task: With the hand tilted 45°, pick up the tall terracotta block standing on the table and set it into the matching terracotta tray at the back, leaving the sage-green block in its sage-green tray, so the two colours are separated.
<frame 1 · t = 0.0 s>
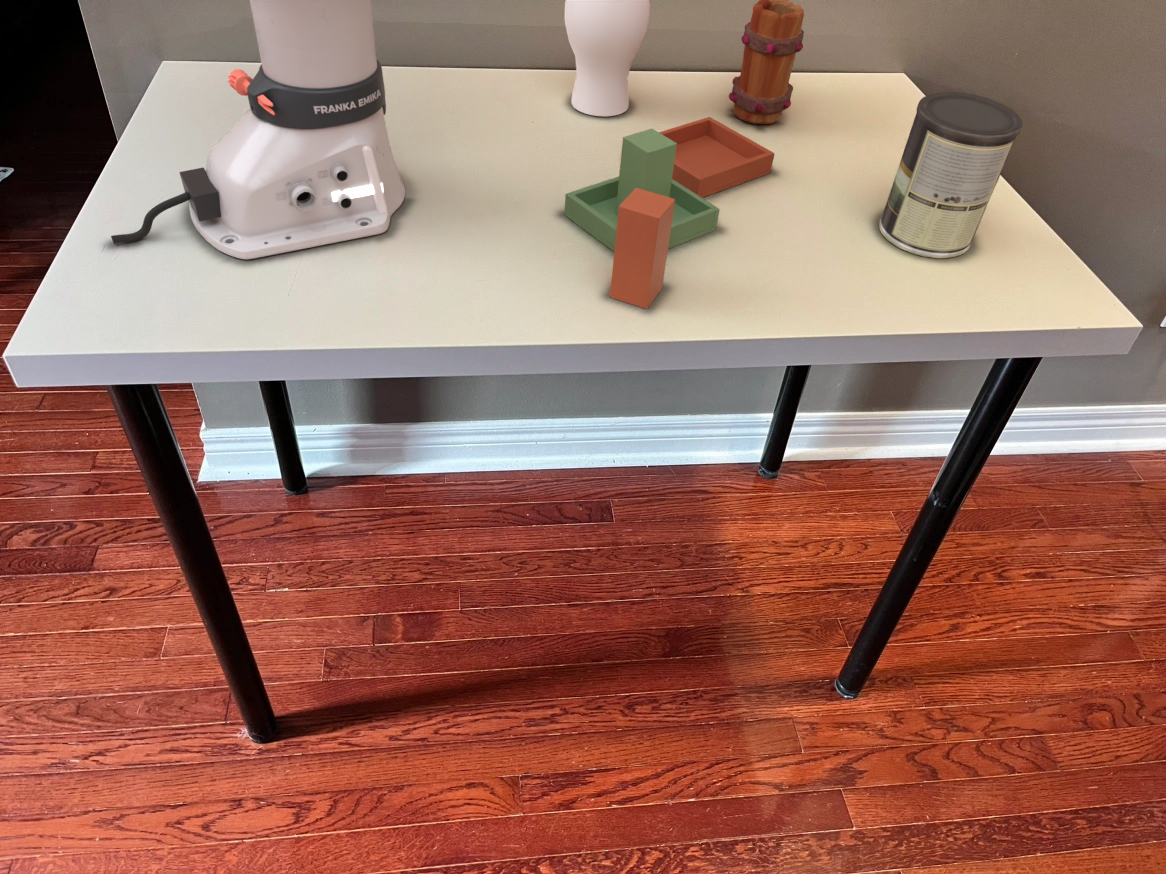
white vase: (599, 105, 118), on the table
green block: (640, 217, 97), point 1 cm above the table, touching green tray
green tray: (639, 222, 97), on the table
terracotta tray: (701, 166, 107), on the table
terracotta block: (636, 292, 87), on the table
coffee can: (923, 235, 99), on the table
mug: (757, 110, 120), on the table
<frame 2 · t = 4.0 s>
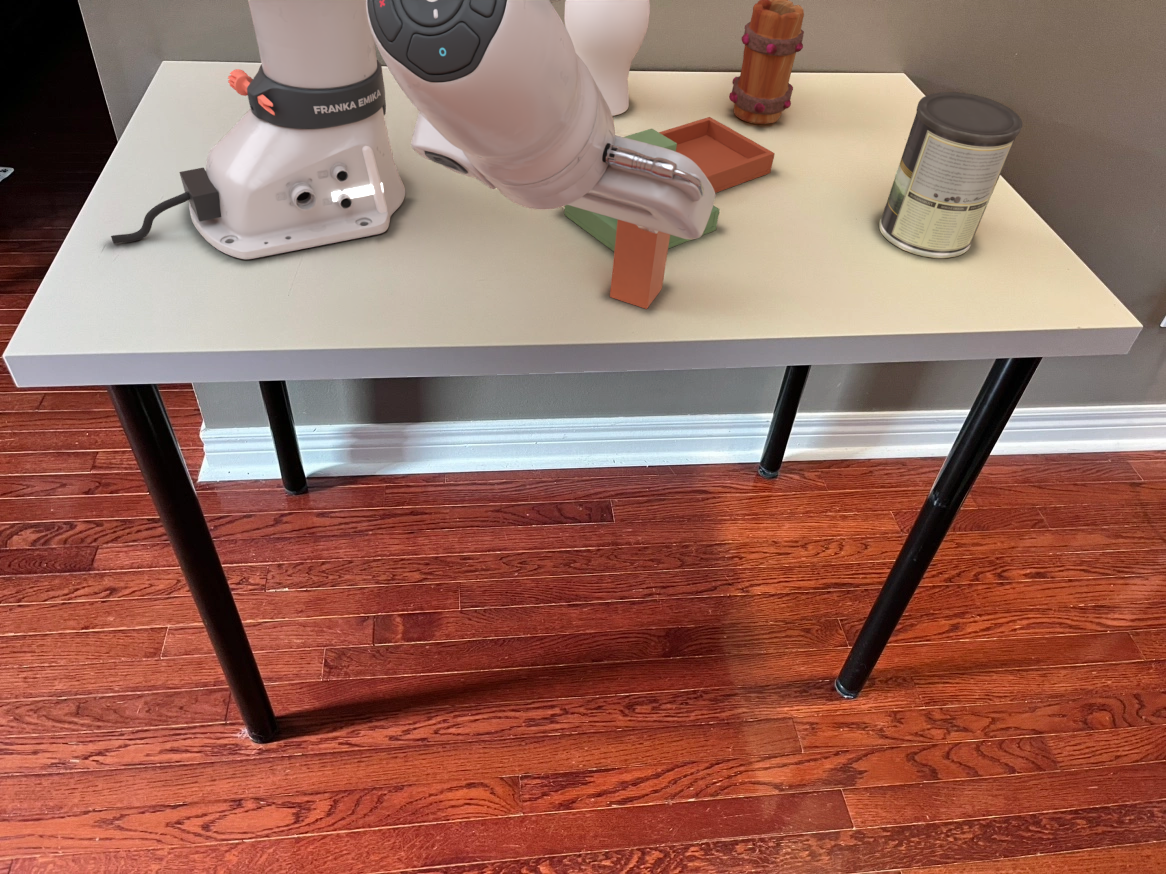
hand: (596, 205, 68), 16 cm above the table, tool tilted 45°, fingers open, 8 cm apart
nothing on the table moved.
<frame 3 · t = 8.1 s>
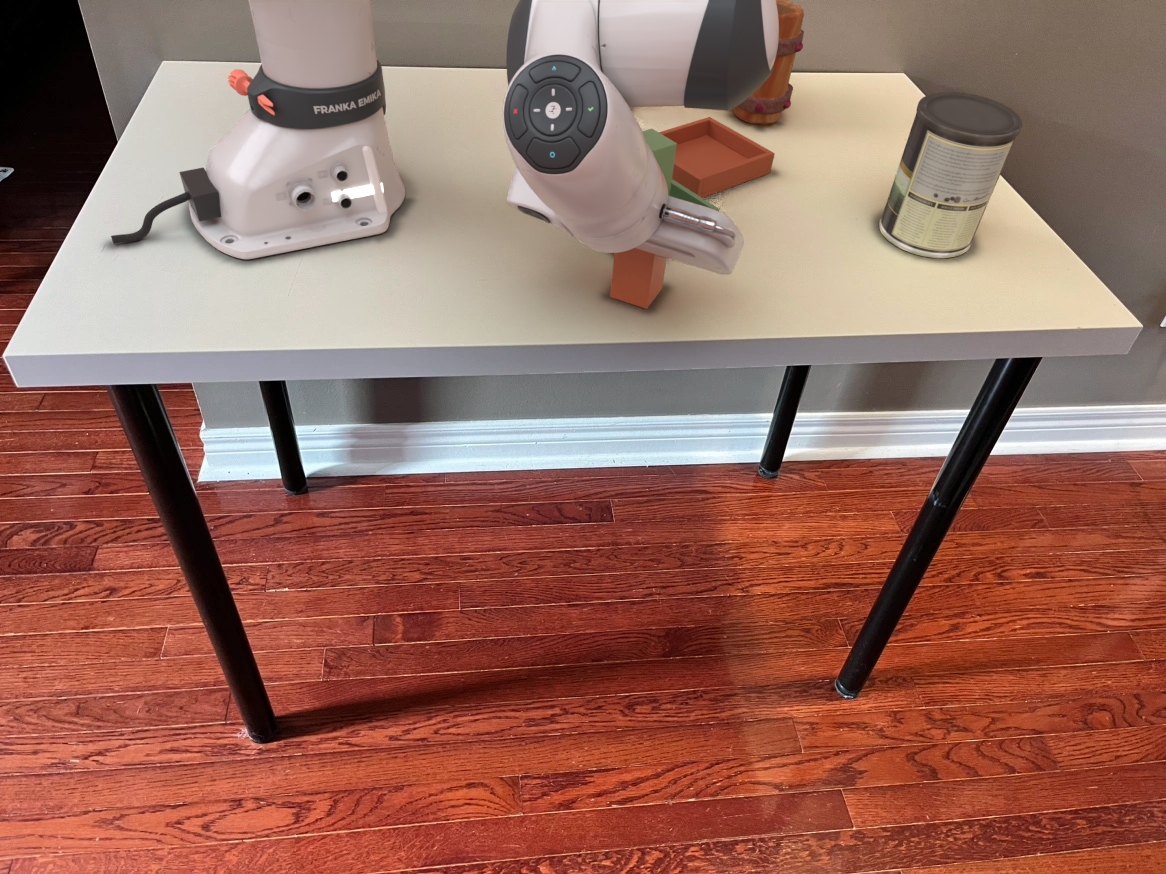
hand: (644, 242, 84), 5 cm above the table, tool tilted 45°, fingers closed on terracotta block, 4 cm apart
terracotta block: (636, 292, 87), on the table, touching gripper
everything else where it was.
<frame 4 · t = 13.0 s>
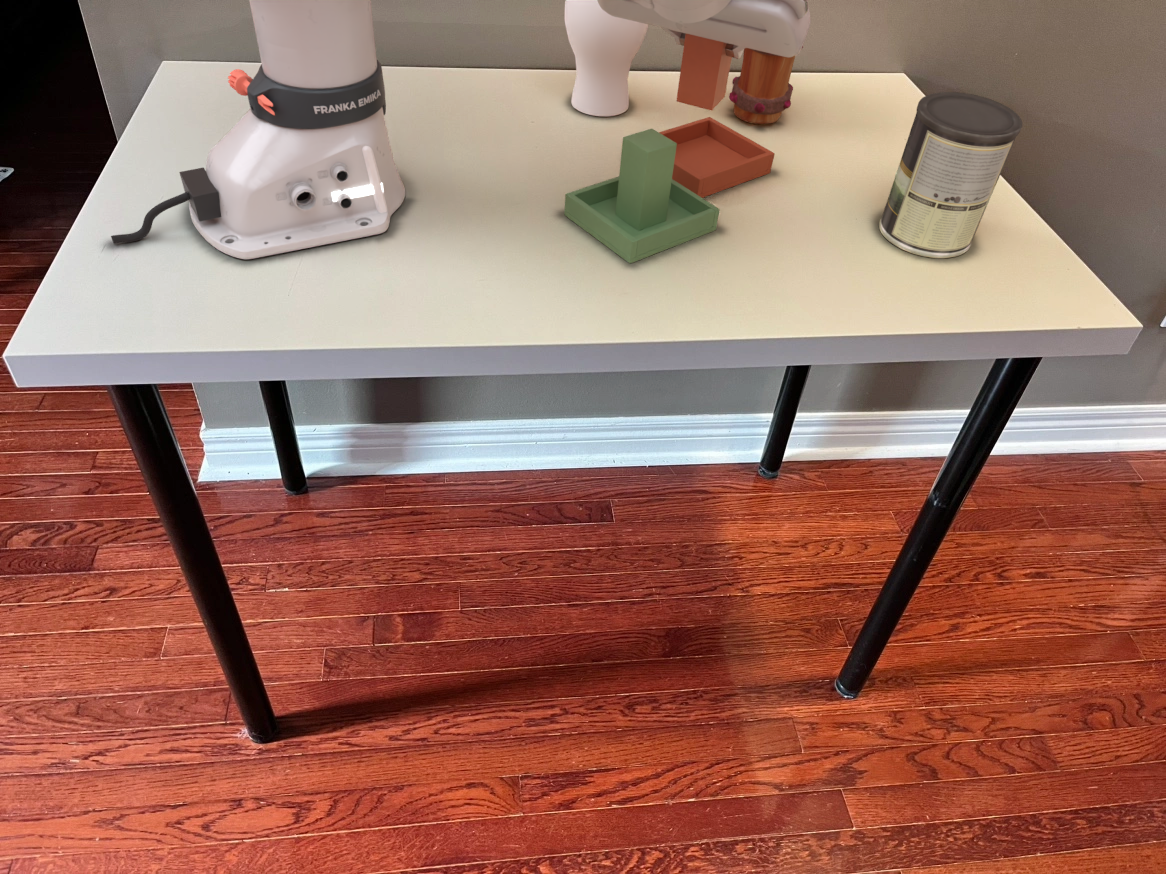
hand: (710, 44, 89), 17 cm above the table, tool tilted 45°, fingers closed on terracotta block, 4 cm apart
terracotta block: (700, 99, 92), point 12 cm above the table, touching gripper
everything else where it was.
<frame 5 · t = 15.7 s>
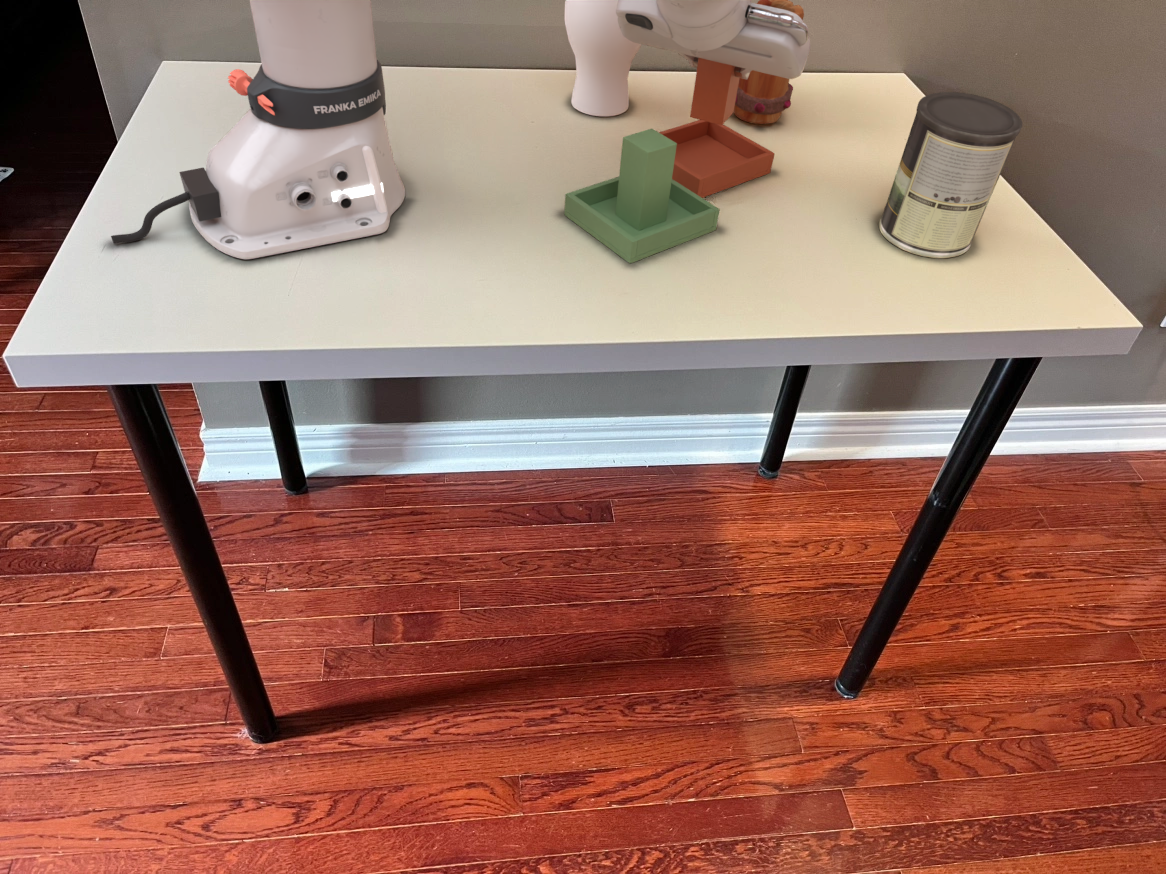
hand: (720, 66, 99), 12 cm above the table, tool tilted 45°, fingers closed on terracotta block, 4 cm apart
terracotta block: (711, 115, 103), point 6 cm above the table, touching gripper
everything else where it was.
when the fingers open (6 cm above the table, at t = 17.7 s): terracotta block stays where it is, resting on terracotta tray.
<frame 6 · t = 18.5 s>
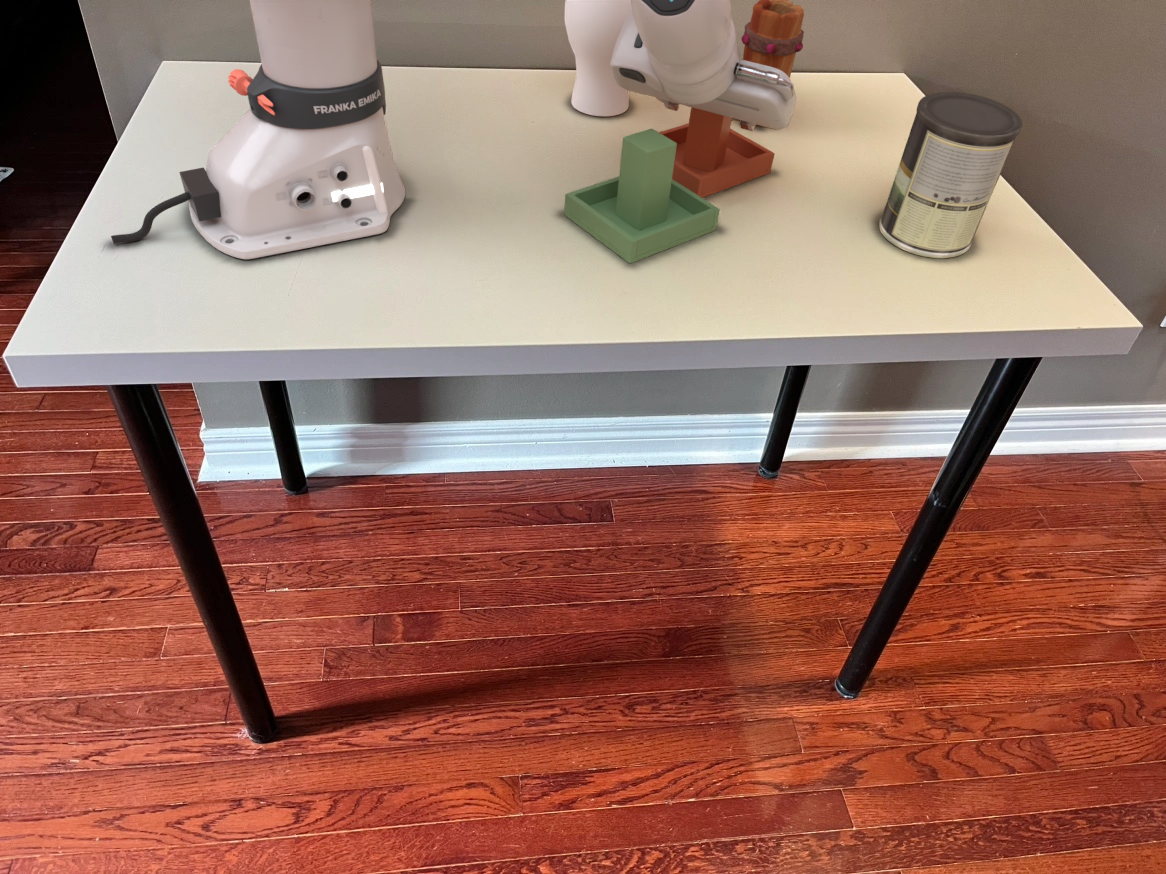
hand: (711, 113, 103), 6 cm above the table, tool tilted 45°, fingers open, 8 cm apart
terracotta block: (703, 161, 107), point 1 cm above the table, touching terracotta tray
everything else where it was.
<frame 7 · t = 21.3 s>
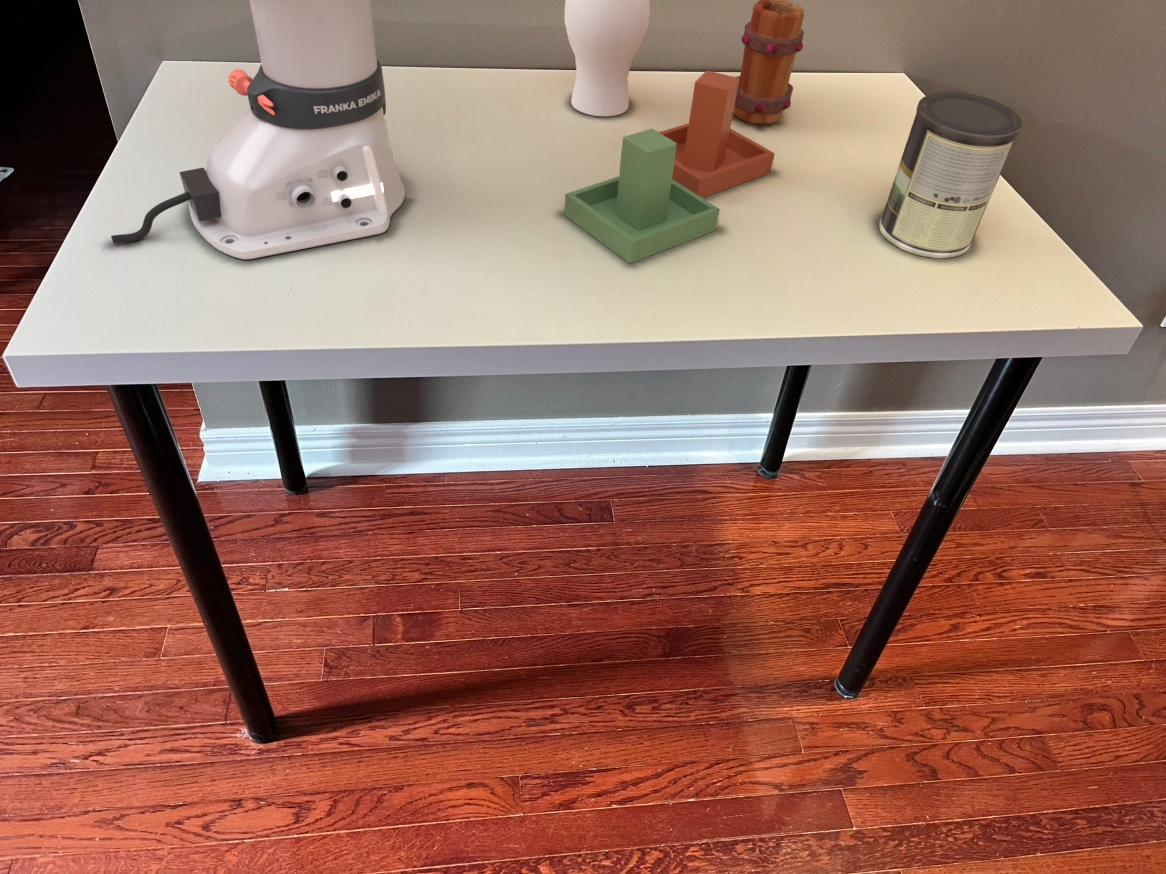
nothing on the table moved.
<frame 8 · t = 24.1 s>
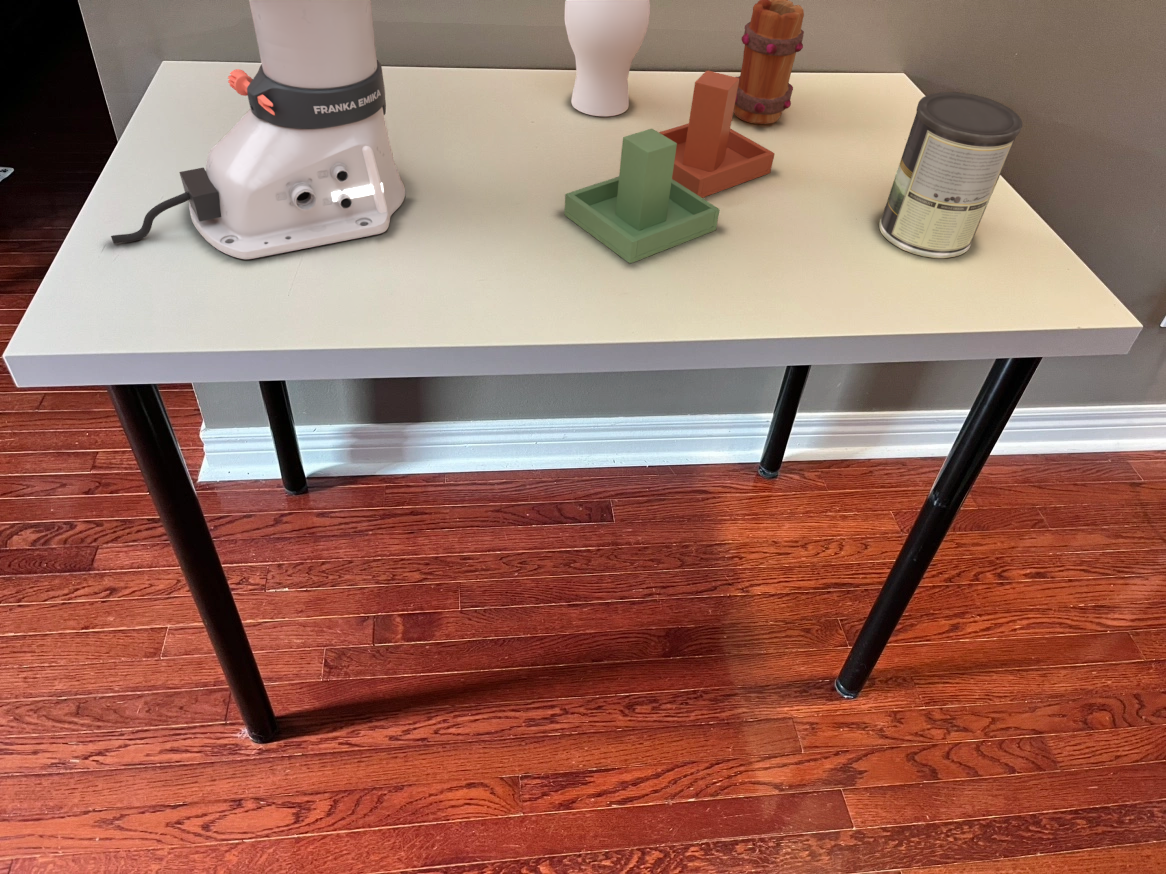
nothing on the table moved.
at the end: terracotta block inside the target area in the terracotta tray (0.1 cm from its centre), point 0.6 cm above the terracotta tray's base; terracotta block tilted 0°; green block moved 0.0 cm from its start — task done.
